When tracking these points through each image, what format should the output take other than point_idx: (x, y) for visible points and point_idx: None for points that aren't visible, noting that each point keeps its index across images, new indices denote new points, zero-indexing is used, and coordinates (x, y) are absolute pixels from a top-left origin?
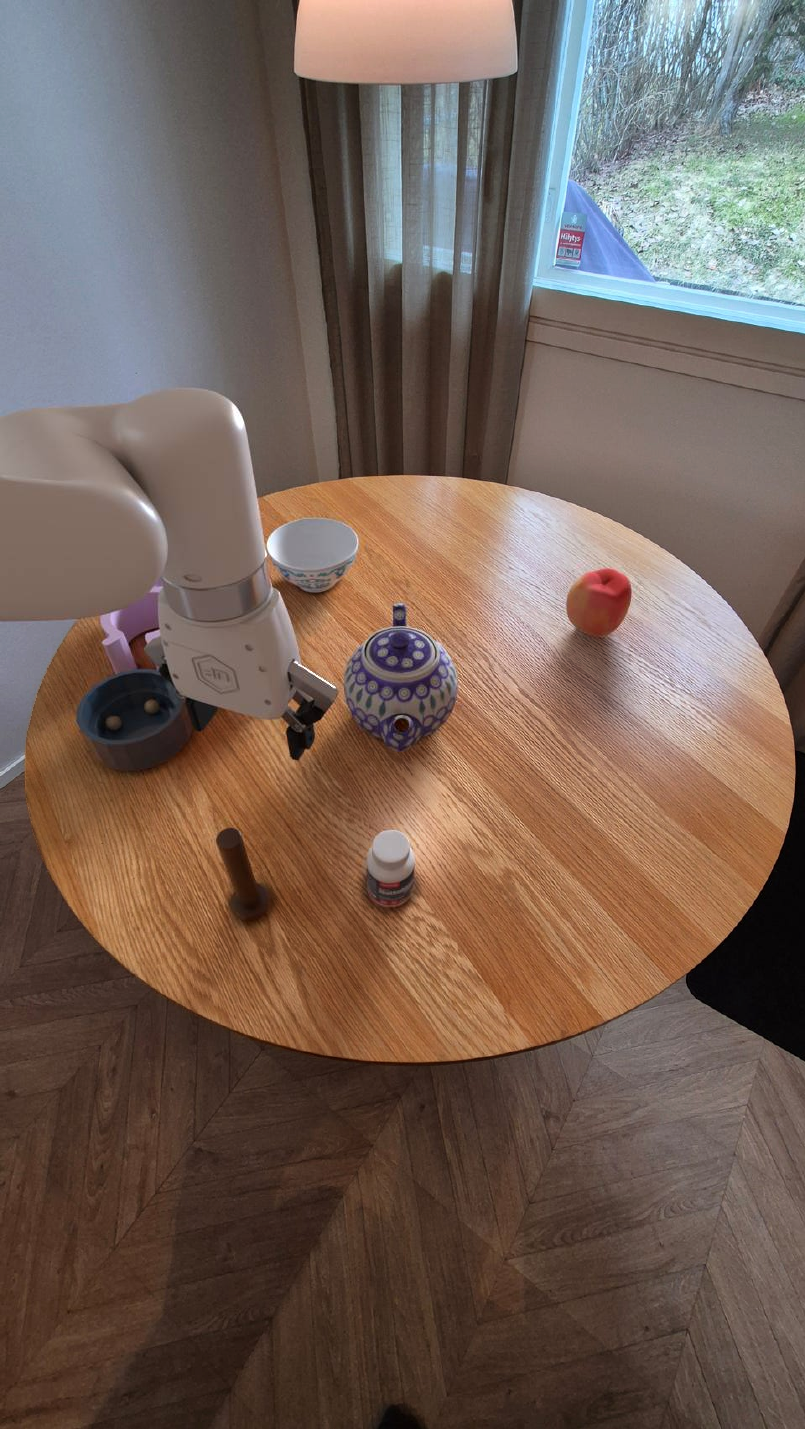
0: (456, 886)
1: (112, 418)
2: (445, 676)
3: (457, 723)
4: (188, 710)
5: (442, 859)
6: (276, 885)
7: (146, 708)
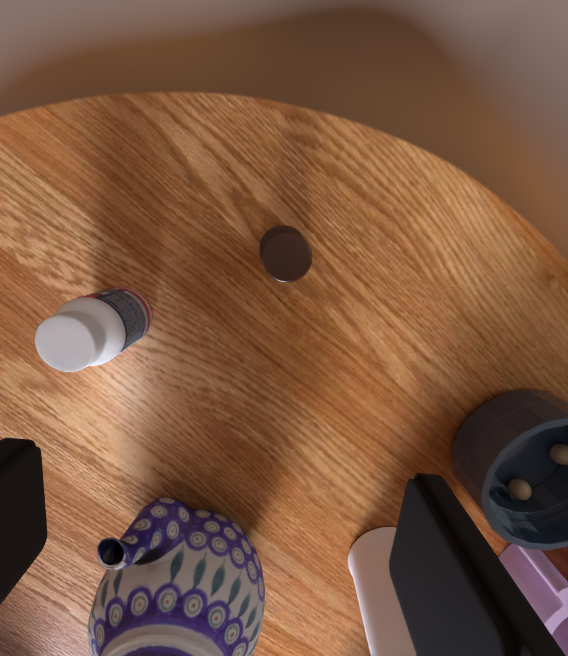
0: None
1: None
2: (92, 643)
3: None
4: (508, 580)
5: None
6: (262, 283)
7: (526, 484)
